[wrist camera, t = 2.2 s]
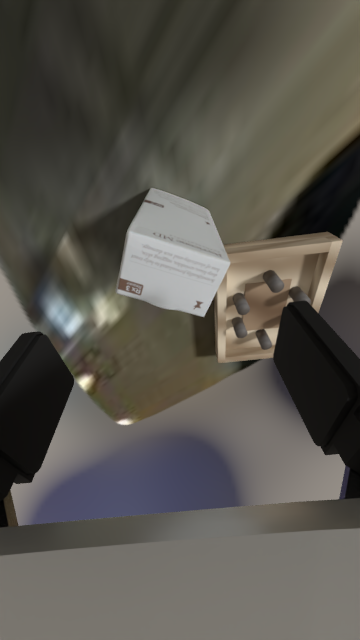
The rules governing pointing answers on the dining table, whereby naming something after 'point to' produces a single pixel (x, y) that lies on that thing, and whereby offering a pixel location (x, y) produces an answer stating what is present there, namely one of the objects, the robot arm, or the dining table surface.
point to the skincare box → (172, 255)
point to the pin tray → (268, 290)
